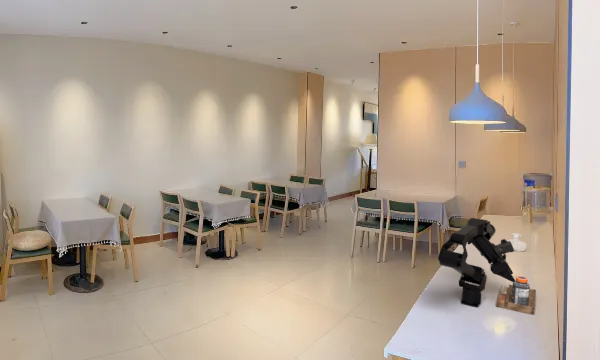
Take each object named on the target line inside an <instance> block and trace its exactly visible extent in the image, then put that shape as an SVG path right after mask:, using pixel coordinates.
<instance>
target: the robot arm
mask: <svg viewBox="0 0 600 360" xmlns="http://www.w3.org/2000/svg"><path fill="white" fill-rule="evenodd" d="M496 230H497V229H496V228H495V226H494V225H493V224H491V221H489V220H488V219H483V218H476V217H471V218H469V219H468V220H467V223H466V225H465V226H464V227H462V228H461V229H459V230H458V231H456V232H452V233H451V235H450V237H449V239H448V240H447V241H446V242H444V243H443V244H442V245H441V248H440V251H439V253H438V260H437V261H438V262H439V263H438V264H439V265H440V266H442V267H446V268H447V267H448V268H449V269H453V270H455V271H456V272H458V273H459V274H460V279H459V280H458V287H459V288H460V287H461V288H462V290H461V292H462V294H461V301H460V304H462V305H467V306H471V307H476V308H479V306H480V305H481V303H482V296H483V291H484V290H485V289H486V285H487V278H488V277H487V276H488V275H487V274H486V272H485V269H483V268H482V267H481V266H478V265H473V264H469V263H467V258H468V257H469V256H468V251H467V247H466V246H467V245H471V244H472V246H474V247H475V248H476V249H477V250H478V252H479V253H480V255H481V256H482V257H484V258H485V260H486V261H487V264H489V265H490V266H489V269H490V272H491V273H492V274H493V275H497V276H499V277H501V278H503V279H506V280H508V281H509V282H511V283H513V282H515V281H516V278H515V277H514V276H513V274H514V272H513V270H512V269H511V267H510V265H509V263H508V262H507V261H506V260H507V255H506V254H508V253H513V252H515V251H514V248H513V246H512V244H511V241H507V240H508V239H506V238H503V239H500V243H498V244H495V243H493V242H491V239H492V238H493V236H494V235H495V234H496ZM454 244H455V245H460V246H462V249H463V251H462V253H460V252H456V251H451V250H449V249H450V248H451V247H452V246H454Z"/></svg>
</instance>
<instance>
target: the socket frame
mask: <svg viewBox="0 0 600 360" xmlns="http://www.w3.org/2000/svg"><path fill="white" fill-rule="evenodd" d="M508 285H509V286H503V285H501V286H500V290H499V292H498V296H497V299H496V302H495V307H496V308H501V309H506V310H510V311H513V312H517V313H518V312H519V313H523V314H527V315H533V316H535V310H536V296H537V295H536V294H537V290H536V289H534V288H530V291H529V302H528V306H524V305H520V304H515V303H511V298H512V286H513V284H508Z"/></svg>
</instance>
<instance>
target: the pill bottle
mask: <svg viewBox="0 0 600 360" xmlns="http://www.w3.org/2000/svg"><path fill="white" fill-rule="evenodd" d="M528 280H529V279H528V277H525V276H522V275H518V276H516V277H515V282H512V285H513V286H512V298H511V303H515V304H520V305H524V306H528V302H529V291H530V289H531V287H530V284H529V283H528Z"/></svg>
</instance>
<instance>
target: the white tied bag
mask: <svg viewBox="0 0 600 360" xmlns="http://www.w3.org/2000/svg"><path fill="white" fill-rule="evenodd" d="M510 236H512V238H510V239H506V240H507V241H511V244H512V246H513V248H514V252H519V253H520V252H525V251H526V249H527V247H528V243H526V242H524V241H523V240H520V238H521V237H522V234H520V233H519V232H513V233H510Z"/></svg>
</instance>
